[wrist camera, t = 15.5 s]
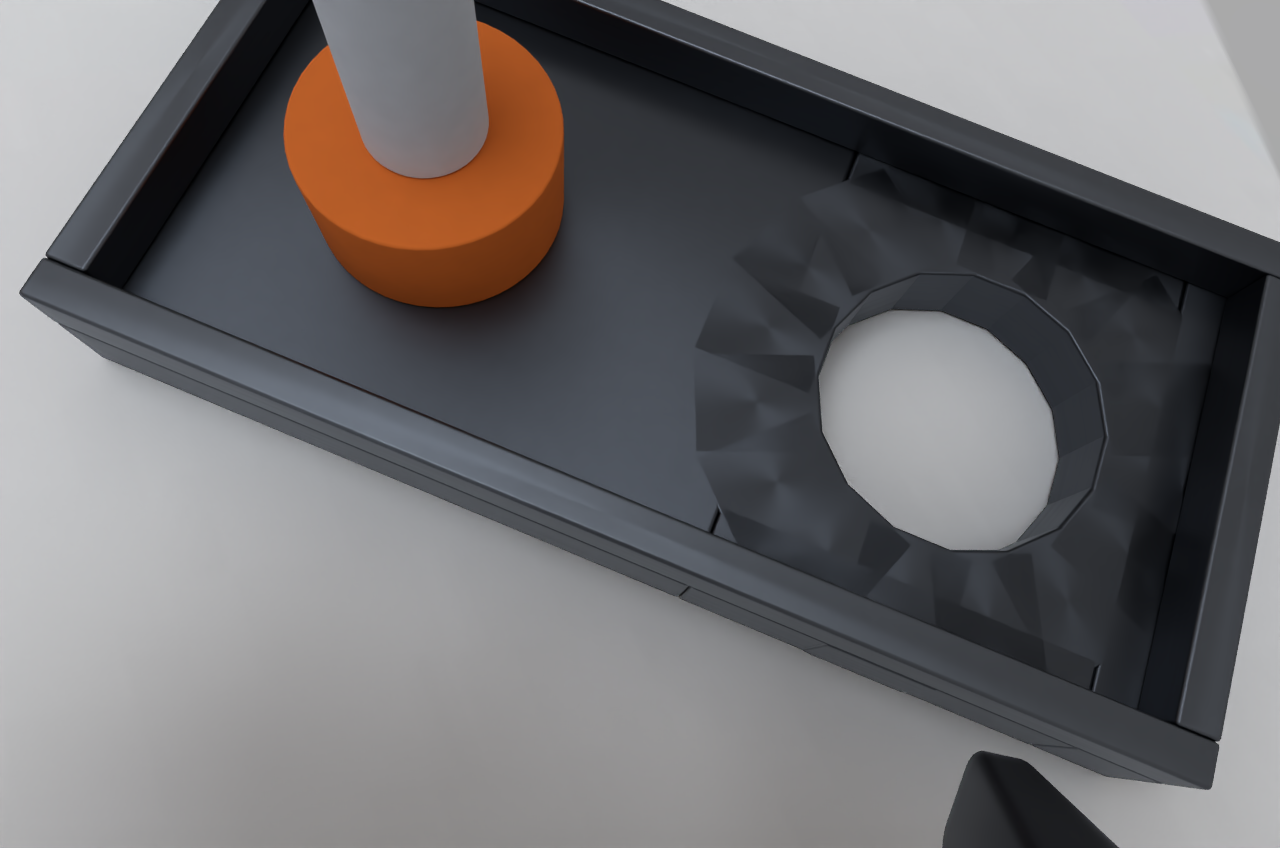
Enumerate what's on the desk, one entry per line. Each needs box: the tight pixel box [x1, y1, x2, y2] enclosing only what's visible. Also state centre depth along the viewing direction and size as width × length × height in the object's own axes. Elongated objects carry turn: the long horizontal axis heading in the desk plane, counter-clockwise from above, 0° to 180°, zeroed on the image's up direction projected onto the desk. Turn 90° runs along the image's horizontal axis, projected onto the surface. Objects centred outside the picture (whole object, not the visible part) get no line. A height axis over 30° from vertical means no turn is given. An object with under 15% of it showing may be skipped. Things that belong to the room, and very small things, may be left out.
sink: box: [59, 0, 1228, 784], centre depth 19 cm, size 22×11×2 cm, turn 68°
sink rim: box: [20, 0, 1280, 790], centre depth 17 cm, size 22×11×1 cm, turn 68°
